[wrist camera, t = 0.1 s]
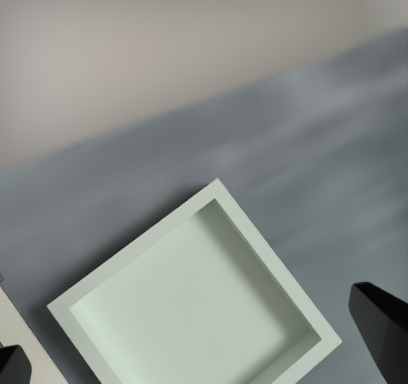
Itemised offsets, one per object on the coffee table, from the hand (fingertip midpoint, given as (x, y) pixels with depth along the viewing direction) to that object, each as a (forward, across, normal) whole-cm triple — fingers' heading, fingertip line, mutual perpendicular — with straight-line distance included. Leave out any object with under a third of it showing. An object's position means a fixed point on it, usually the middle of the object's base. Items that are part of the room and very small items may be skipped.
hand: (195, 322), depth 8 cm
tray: (+10, 0, +11) cm, 15 cm away
